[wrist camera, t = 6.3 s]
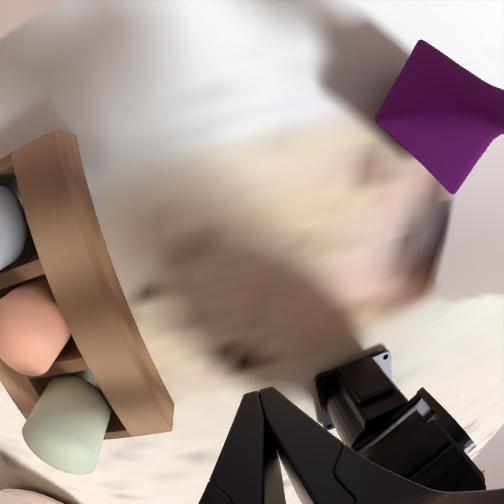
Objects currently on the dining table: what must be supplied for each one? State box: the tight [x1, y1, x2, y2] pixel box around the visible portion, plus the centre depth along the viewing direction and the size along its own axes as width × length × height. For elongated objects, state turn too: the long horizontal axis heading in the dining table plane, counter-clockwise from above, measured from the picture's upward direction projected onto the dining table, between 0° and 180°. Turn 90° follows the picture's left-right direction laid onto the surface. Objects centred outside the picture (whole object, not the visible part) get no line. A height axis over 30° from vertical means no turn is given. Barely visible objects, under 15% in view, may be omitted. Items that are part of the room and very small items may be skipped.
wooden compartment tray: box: [0, 131, 174, 440], centre depth 17 cm, size 20×12×3 cm, turn 14°
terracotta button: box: [0, 274, 72, 376], centre depth 16 cm, size 5×5×5 cm
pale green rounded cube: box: [22, 375, 111, 475], centre depth 16 cm, size 5×5×5 cm
